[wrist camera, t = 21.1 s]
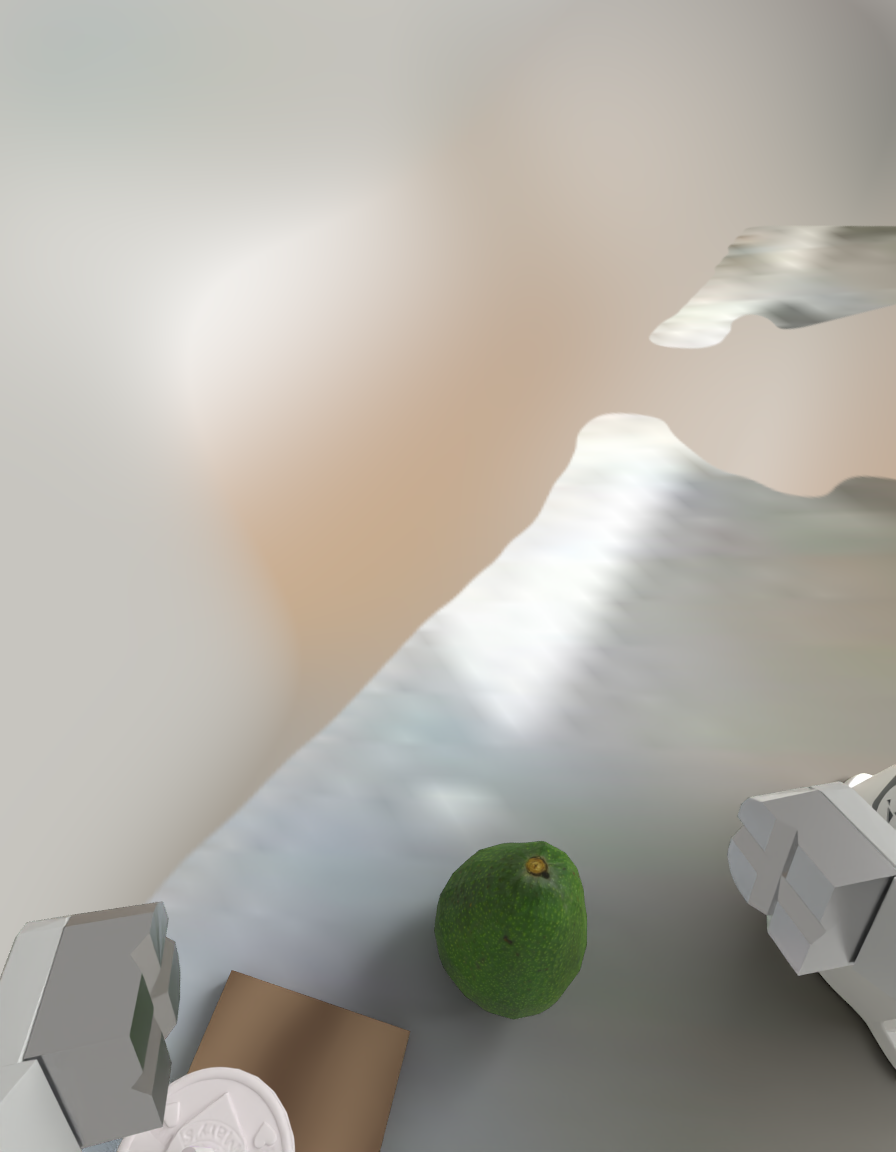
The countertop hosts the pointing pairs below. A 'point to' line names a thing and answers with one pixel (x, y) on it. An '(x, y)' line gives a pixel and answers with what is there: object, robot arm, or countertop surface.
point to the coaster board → (309, 1061)
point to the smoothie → (218, 1116)
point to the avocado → (513, 927)
